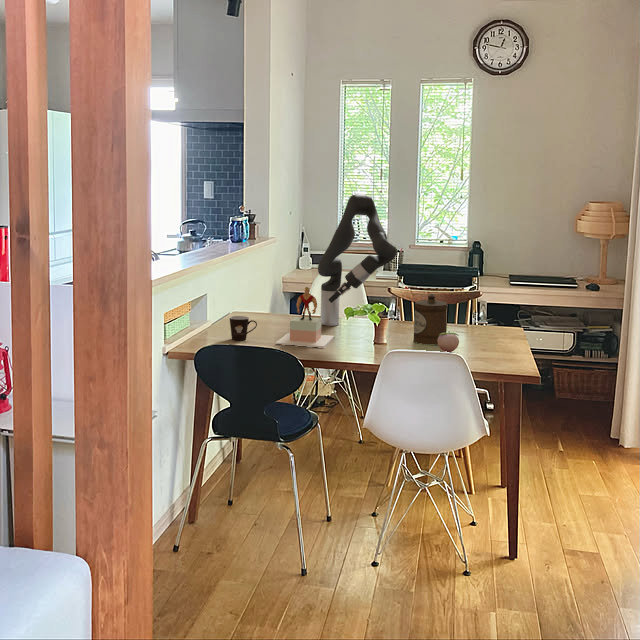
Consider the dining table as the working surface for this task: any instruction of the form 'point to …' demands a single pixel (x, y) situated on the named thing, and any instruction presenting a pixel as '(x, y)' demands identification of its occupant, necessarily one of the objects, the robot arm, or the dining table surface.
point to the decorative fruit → (448, 341)
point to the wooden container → (429, 320)
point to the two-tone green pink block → (305, 333)
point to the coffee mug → (240, 327)
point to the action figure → (306, 302)
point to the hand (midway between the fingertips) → (331, 299)
